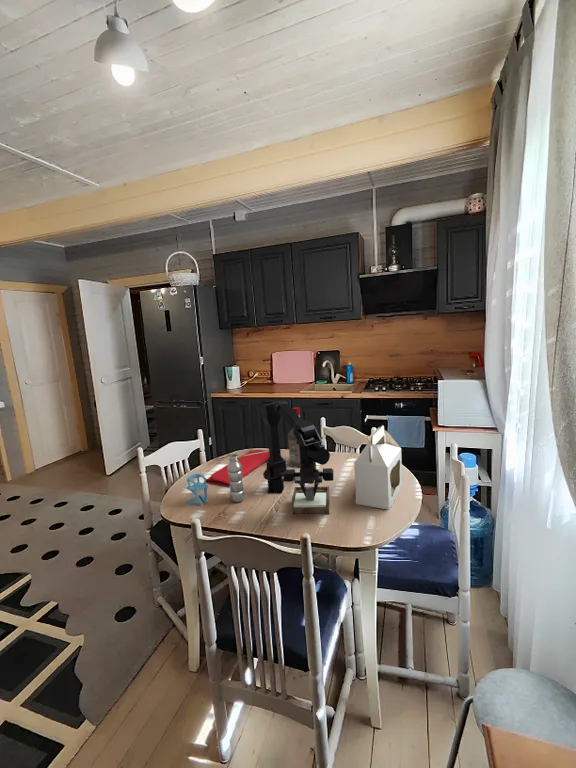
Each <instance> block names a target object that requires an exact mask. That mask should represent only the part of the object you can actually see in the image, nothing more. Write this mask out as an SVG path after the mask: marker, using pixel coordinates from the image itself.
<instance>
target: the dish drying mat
mask: <svg viewBox="0 0 576 768" xmlns="http://www.w3.org/2000/svg"><path fill="white" fill-rule="evenodd" d="M268 459H269V450H262V449H253V450H250V451H249V452H247V453H244V454H242V456H240V457H238V461H239V462H240V463H241V465H242V479H243V478H245V477H246V476H248V475H249V474H250V473H252V472H253V471H254V470H256V469H258V468H259V467H261V466H262V465H263V464H264V463H265V462H267V461H268ZM227 466H228V464H227V465H225V466H224V467H222V468H220V469H218V470H217V471H215V472H213V473H212V474H211V475H210V476H209V477H208V478H206V484H211V483H212V485H217V486H223V487H227V488H230V479H229V475H228V471H227Z"/></svg>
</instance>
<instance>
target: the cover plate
mask: <svg viewBox="0 0 576 768" xmlns="http://www.w3.org/2000/svg"><path fill="white" fill-rule="evenodd" d="M305 487H306V490H305V492H306V496H305V495H304V493H296V496H295V501H294V505H293V506H294V507H326V493H316V494H315V496H314V486H305Z"/></svg>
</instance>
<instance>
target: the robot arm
mask: <svg viewBox="0 0 576 768" xmlns="http://www.w3.org/2000/svg"><path fill="white" fill-rule="evenodd" d="M260 414H261V419H262V420H263V422H264V423H265V424H266V433H267V442H268V451H269V459H268V460H267V461H266V469H265V470H264V472H263V473H262V475H263V479H265V480H266V481H267V488H268V489H267V494H283V491H284V489H285V483H288V482H289V483H291V482H293V481H294V480H295V481H294V483H295V484H298V485H299V487H301V488H302V490H303V493H304V495H305V496H306V492H305V490H306V487H307V486H306V484H310V485H312V484H313V487H314V496H315V494H316V490H317V487H319V484H322V482H323V481H325V482H330V481H331V482H333V481H334V468H330V467H329V468H327V467H326V468H322V471H321V470H320V471H319V469H317V464H319V465H322V466H323V465H326V464H328V462H329V460H330V457H331V454H330V451H329V450H328V449H327V448H326V446H325V445H324V444H323V443H322V442H323V441H322V437H321V436H320V434H319V432H318V430H317V428H316V426H315V425H314V424H313V423H312V422H310V421H309V420H306V419H302V418H301V416H300V417H299V416H298V415H297V414H296V413H295V412H294V411H293V408H291V407H290V406H289V404H288V402H287V401H286V400H279V401H275V402H271V403H267V404H263V405H262V406H261V408H260ZM281 418H282V419H283V420H285V422H286V423H287V424H288V425H289V427H291V429H293V434H294V436H295V437H296V439H297V440H298V441H297V442H296V444H298V445H299V453H300V468H299V472H298V471H296V469H295V468H293V469H292V468H291V469H290V468H289V469H288V468H287V461H286V460H285V459H284V458H283V457H282V454H281V452H282V451H281V443H280V442H281V441H280V433H279V431H280V430H279V422H280V420H281ZM309 439H313V440H310V441H307V440H309ZM321 443H322V444H321ZM315 462H316V465H315Z"/></svg>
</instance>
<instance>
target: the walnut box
mask: <svg viewBox="0 0 576 768" xmlns="http://www.w3.org/2000/svg"><path fill="white" fill-rule="evenodd" d="M296 493H303V490H302V488H301V487H300V486H294V489H293V493H292V497H291V507H292V509H291V511H292V515H330V506H331V503H330V500H331V498H330V487H329V486H325V485H323V486H318V487H317V490H316V493H326V507H294V506H293V505H294V501H295V496H296Z"/></svg>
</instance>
